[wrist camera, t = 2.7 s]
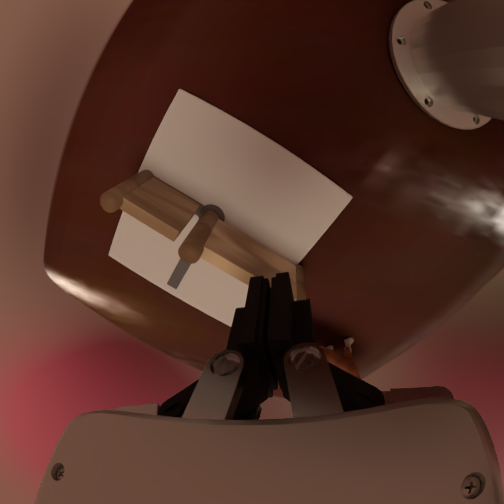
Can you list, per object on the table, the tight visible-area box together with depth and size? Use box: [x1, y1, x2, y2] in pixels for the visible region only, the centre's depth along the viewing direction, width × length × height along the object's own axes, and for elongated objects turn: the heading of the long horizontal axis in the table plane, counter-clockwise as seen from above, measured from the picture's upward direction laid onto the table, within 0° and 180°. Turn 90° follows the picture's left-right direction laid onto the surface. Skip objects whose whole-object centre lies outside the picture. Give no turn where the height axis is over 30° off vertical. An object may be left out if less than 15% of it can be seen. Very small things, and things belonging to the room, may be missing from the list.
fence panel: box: [178, 210, 306, 301], centre depth 22 cm, size 11×2×6 cm, turn 59°
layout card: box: [109, 89, 353, 327], centre depth 25 cm, size 19×17×1 cm
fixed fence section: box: [100, 170, 200, 242], centre depth 21 cm, size 2×6×6 cm, turn 58°
